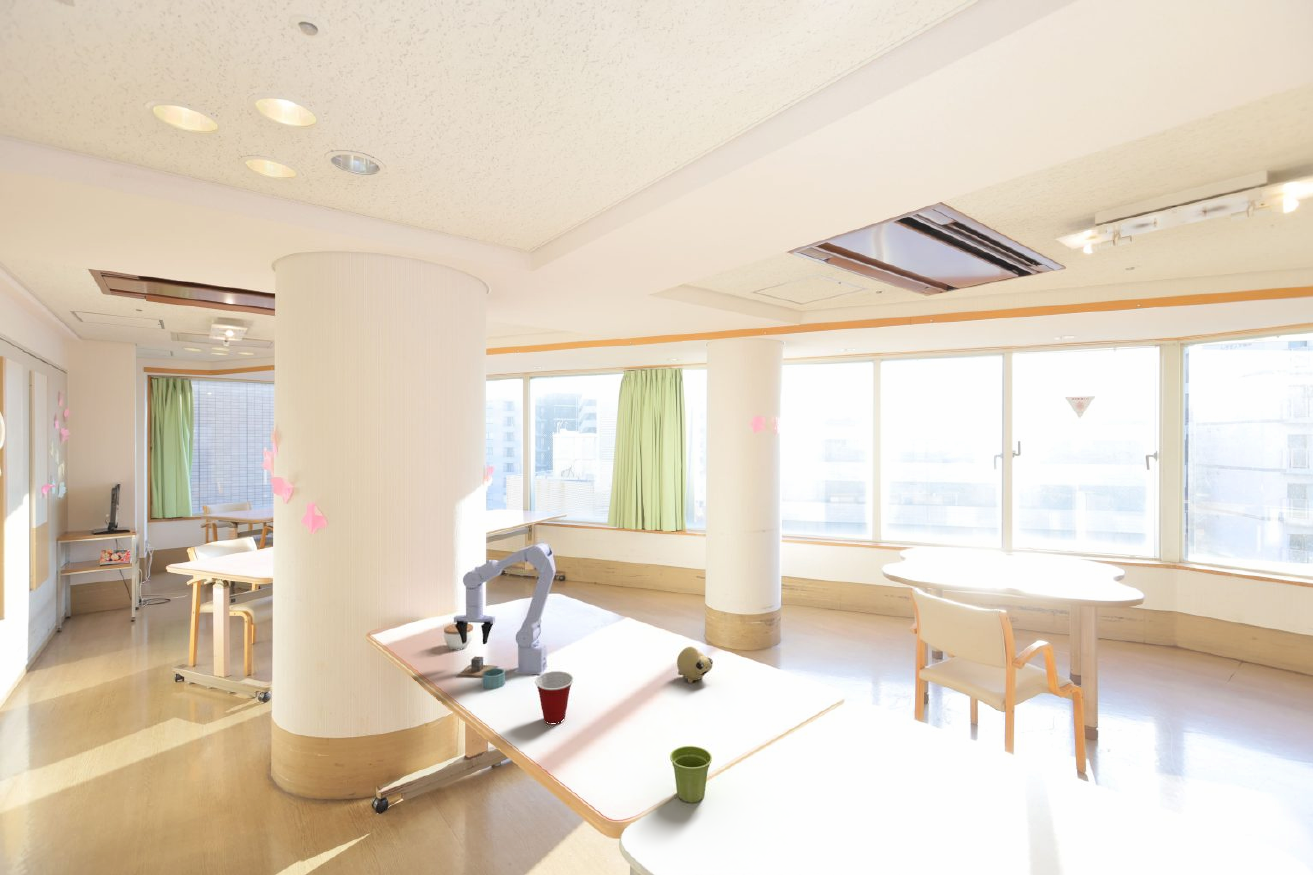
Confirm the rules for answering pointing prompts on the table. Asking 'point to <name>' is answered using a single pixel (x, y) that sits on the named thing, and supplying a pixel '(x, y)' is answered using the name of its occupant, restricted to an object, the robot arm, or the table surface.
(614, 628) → the table surface
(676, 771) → the plant pot
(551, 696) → the plastic cup
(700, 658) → the tan toy animal
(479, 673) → the cover
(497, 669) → the bowl
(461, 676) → the mat
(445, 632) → the lidded jar
